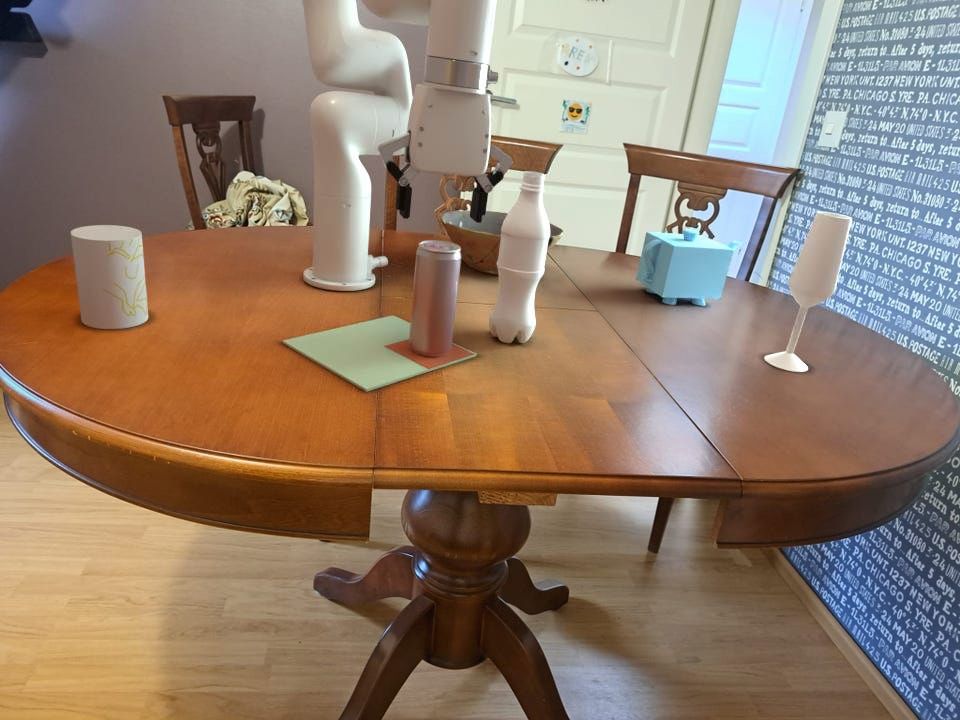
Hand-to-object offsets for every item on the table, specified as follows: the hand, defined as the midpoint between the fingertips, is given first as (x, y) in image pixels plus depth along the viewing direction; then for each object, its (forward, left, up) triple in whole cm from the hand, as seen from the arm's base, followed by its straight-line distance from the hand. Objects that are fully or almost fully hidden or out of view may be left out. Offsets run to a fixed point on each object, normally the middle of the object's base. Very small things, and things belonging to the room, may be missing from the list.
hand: (440, 218), depth 86 cm
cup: (+29, -32, -19) cm, 47 cm away
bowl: (-43, -24, -19) cm, 53 cm away
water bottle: (-15, +3, -19) cm, 24 cm away
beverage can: (0, +1, -19) cm, 19 cm away
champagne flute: (-47, +35, -19) cm, 62 cm away
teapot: (-65, +8, -19) cm, 68 cm away
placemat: (+5, -4, -19) cm, 20 cm away
